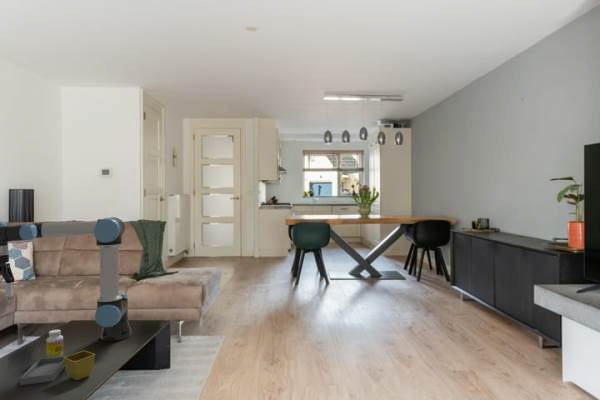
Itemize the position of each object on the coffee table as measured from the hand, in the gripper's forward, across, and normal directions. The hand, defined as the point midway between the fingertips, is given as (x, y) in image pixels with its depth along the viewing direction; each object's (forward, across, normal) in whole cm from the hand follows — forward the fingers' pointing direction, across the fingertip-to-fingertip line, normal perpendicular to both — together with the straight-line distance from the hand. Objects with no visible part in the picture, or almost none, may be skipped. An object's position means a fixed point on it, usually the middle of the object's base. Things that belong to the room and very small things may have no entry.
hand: (2, 299), depth 187 cm
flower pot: (+31, +32, +42) cm, 62 cm away
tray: (+29, +24, +26) cm, 46 cm away
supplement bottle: (+29, +8, +24) cm, 39 cm away
